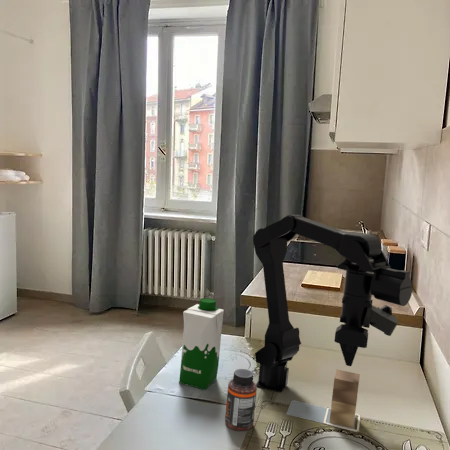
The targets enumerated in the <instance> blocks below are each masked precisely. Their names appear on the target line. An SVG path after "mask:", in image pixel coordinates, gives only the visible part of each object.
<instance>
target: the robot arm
mask: <svg viewBox="0 0 450 450" xmlns="http://www.w3.org/2000/svg"><path fill="white" fill-rule="evenodd" d="M297 235H299V236H302V237H304V238H306V239H310V240H312V241H313V242H316V243H319V244H322V245H324V246H328V247H329V248H331V249H334V250H335V251H336V252H337V253H338V255H340V256H341V257H343V258H344V260H343V261H342V262H341V263H339V264H337V266H336V268H337V269H339V270H343V271H345V278H344V279H345V280H344V287H343V296H342V298H341V299H342V300H341V312H340V317H339V323H341V324H339V326H337V327H336V329H335V333H334V342H335V343H337V344H339V346H340V350H341V353H342V356H343V360H344V363H345V366H348V367H352V365H353V363H354V359H355V358H356V357H355V356H356V354H357V351H358V350H359V348H362V349H365V348H367V347H368V340H369V330H368V329H370V326H371V327H374V328H375V329H376V330H379V331H380V332H383V334H384V335H386V336H389V337H391V336H392V335H393V333H394V331H395V329H396V327H397V326H398V323H399V321H398V318H397V317H396V315H393V307H390V306H389V305H387V304H385V305H383V306H382V307H379V306H375V305H373V299H372V296H373V297H374V298H375V299H376V300H379V301H383V302H386V303H390V304H394V305H398V306H401V307H406V305H408V304H409V302H410V300H411V297H412V294H413V286H412V285H413V283H412V280H411V277H410V271H408V270H402V269H401V270H399V269H394V268H391V264H390V263H389V261H388V259H387V257H386V256H385V253H384V252H383V250H382V249H383V248H382V243H381V241H380V238H379V237H378V236H376V235H375V234H371V233H361V232H353V231H344V230H341V229H338V228H336V227H333V226H330V225H328V224H324V223H321V222H318V221H315V220H312V219H309V218H306V217H304V216H303V215H301V214H287V215H286V216H284V217H283V218H281V219H280V220H278V221H276V222H274V223H271V224H269V225H267V226H266V227H263V228H262V227H261V228H259V229H257V230H256V231H255V233H254V234H253V237H252V243H253V247H254V253H255V255H256V256H257V258H258V260H259V261H260V263H261V264H262V269H263V276H264V277H263V278H264V287H265V295H266V306H267V314H268V315H267V316H268V326H267V328H266V331H265V334H264V346H263V347H261V348H259V350H257V351H256V352H254V356H255V357H254V358H255V362H256V363H258V364H259V370H258V371H259V372H258V379H257V383H255V384H256V386H257V388H260V389H264V390H268V391H272V392H277V393H282V392H283V391H284V389H286V387H287V385H288V382H289V381H288V380H289V373H290V371H289V370H290V368H289V367H288V362H290V361H291V362H292V360H293V358H294V356H296V355H297V354H298V352H299V351H300V345H302V342H301V338H300V328H299V327H294V326H293V324H292V323H291V321H290V316H289V308H288V307H289V306H288V298H287V291H286V290H287V288H286V281H285V272H284V261H285V258H286V254H287V252H288V243H289V242H290V241H291V240H293V239H294V238H295V237H297Z"/></svg>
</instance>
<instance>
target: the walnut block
mask: <svg viewBox="0 0 450 450" xmlns="http://www.w3.org/2000/svg"><path fill="white" fill-rule="evenodd" d="M360 375H361V374H359V373H355V372H351V371H347V370H342V369H335V375H334V379H333V388H332V396H331V397H332V398H331V402H332V401H337V402H341V403H345V404H349V405H354V406H356V407H357V403H356V401H357V402H358V392H359V385H360V384H359V383H360Z"/></svg>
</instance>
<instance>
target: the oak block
mask: <svg viewBox="0 0 450 450" xmlns="http://www.w3.org/2000/svg"><path fill="white" fill-rule="evenodd" d="M357 402H358V400H357V401H356V404H358V403H357ZM330 408H331V413H330V421H329V422H330V423H334V424H338V425H342V426H346V427H350V428H353V427H354V419H355V414H356V409H357V405H356V406H354V405H349V404H345V403H341V402H337V401H332V400H331V407H330Z"/></svg>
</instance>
